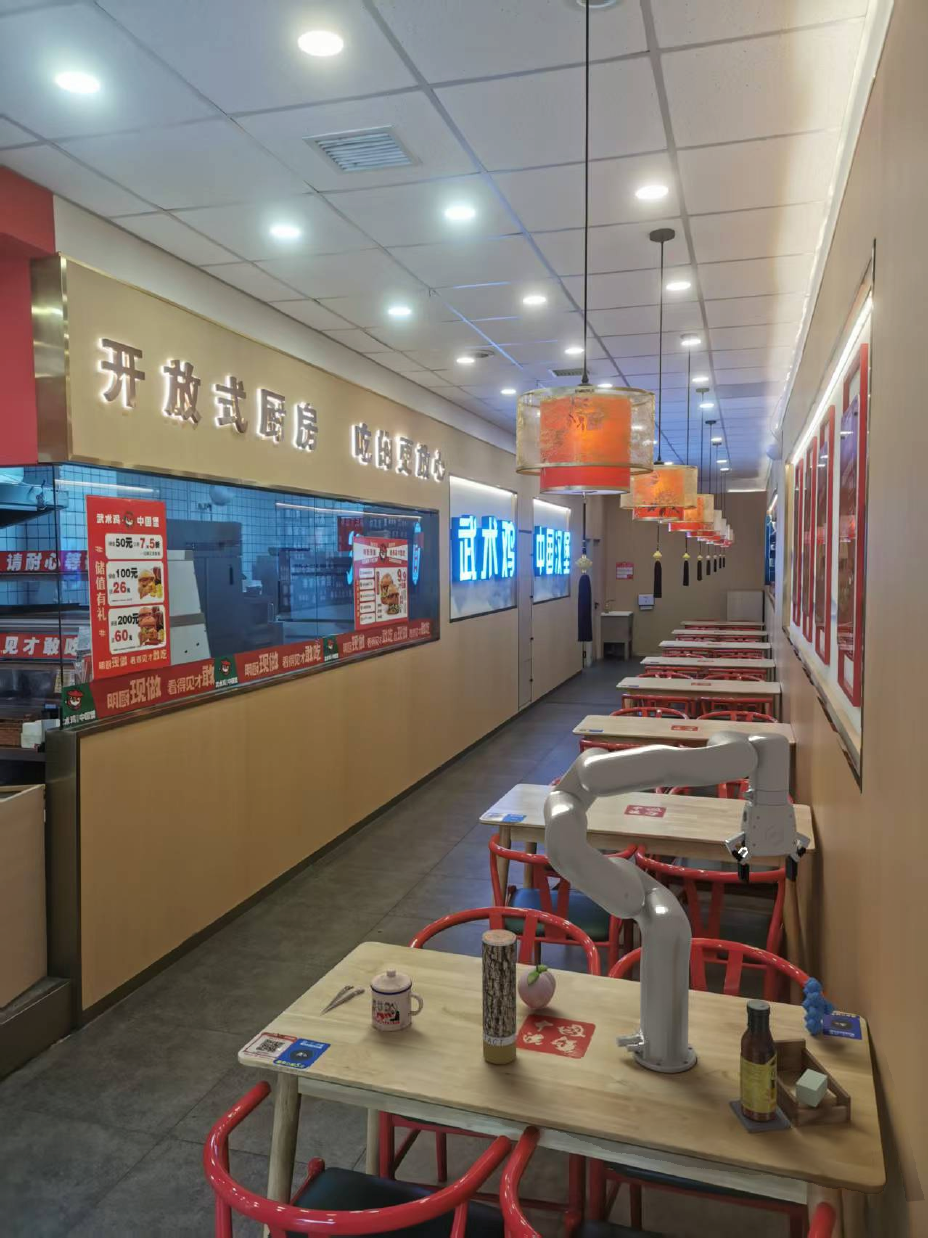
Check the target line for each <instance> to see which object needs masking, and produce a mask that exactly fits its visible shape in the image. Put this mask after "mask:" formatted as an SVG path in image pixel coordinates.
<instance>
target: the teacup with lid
mask: <svg viewBox="0 0 928 1238" xmlns="http://www.w3.org/2000/svg"><path fill="white" fill-rule="evenodd" d="M369 986H370V989H371V1022H372V1025H373V1026H374V1027H375V1028H376V1029H378V1030H380V1031H385V1032H396V1031H400V1030H403V1029H406V1027H407V1028H408V1026H409V1025H410V1024H411V1022H412V1018H413V1017H414V1016H415V1017H416V1016H417V1015H419V1014H420V1013H421V1012H422V1011H423V1008H424V1001H423V997H422V996H421V995H420V994H418V993H417V992H414V991H412V986H413V981H412V978H411V977H410V976H409V975H408V974H406V973H403V972H401V971H400V972H399V971H396V969H395V968H392V967H390V968H387V970H386V972H383V973H378V974H377V975H375V976H374V977H373V978H372V980H371V982H370V985H369ZM412 998H414V999H416V1000H417V1002H418V1008H417V1010H412Z"/></svg>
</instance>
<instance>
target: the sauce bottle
mask: <svg viewBox="0 0 928 1238" xmlns="http://www.w3.org/2000/svg"><path fill="white" fill-rule="evenodd" d="M746 1013H747V1023H746V1026H747V1028H746V1030H745V1031H744V1033H743V1034H742V1036H741V1038H740V1053H739V1056H740V1058H739V1059H740V1062H739V1065H740V1066H739V1069H740V1070H739V1073H740V1074H739V1078H740V1079H739V1086H740V1088H739V1098H740V1099H739V1100H740V1102H741V1110H742V1112H743V1114H744V1115H746V1116H747V1117H748V1118H750V1119H753V1120H755V1121H763V1122H766V1121H770V1120H772V1119H773V1118H774V1116H775V1114H776V1113H775V1111H776V1106H778V1105H777V1075H778V1072H777V1049H776V1046H775V1043H774V1041H773V1040H774V1039H773V1036H772V1032H771V1030H770V1027H771V1026H770V1015H771V1006H770V1004H769V1003H768V1002H766V1001H764V1000H760V999H750V1000H748V1001H747V1002H746Z"/></svg>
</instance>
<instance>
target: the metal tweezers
mask: <svg viewBox="0 0 928 1238" xmlns="http://www.w3.org/2000/svg"><path fill="white" fill-rule="evenodd" d="M352 988H354V984H352V985H349V984H347V985H345V986H344V987H343V988H342V989H341V990H340V991H338V993H337V994H336V995H335V996H334V998H332V1000H331V1001H330V1002H329V1004H327V1005H326V1006H325V1008H324V1009H323V1010H322V1011H321V1012H320V1013H319V1014H318V1016H319V1017H321V1016H322V1015H325V1014H326V1013H328V1012H329V1011H330V1010H332V1009H333V1008H335V1007H337V1006H339V1005H340V1004H342V1003H344V1002H345V1001H347V1000H349V999H351V998H353V997H355V996H356V995H358V994H360V993H362V992H365V988H363V987H359V988H357V989H356V990H353V991H352V992H350V993H348V994H347V995H346V996H344V997H343V998H341V999H340V997H342V996H343V995H344V994H345V993H346V992H347V991H348V990H350V989H352ZM338 999H339V1000H338ZM337 1000H338V1001H337ZM335 1001H336V1002H335ZM334 1002H335V1003H334Z"/></svg>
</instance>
